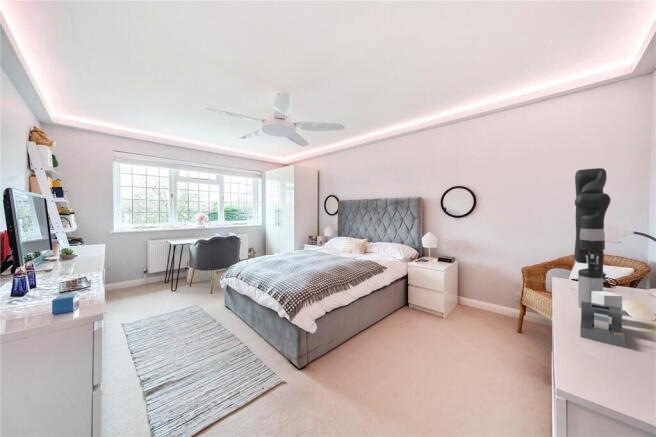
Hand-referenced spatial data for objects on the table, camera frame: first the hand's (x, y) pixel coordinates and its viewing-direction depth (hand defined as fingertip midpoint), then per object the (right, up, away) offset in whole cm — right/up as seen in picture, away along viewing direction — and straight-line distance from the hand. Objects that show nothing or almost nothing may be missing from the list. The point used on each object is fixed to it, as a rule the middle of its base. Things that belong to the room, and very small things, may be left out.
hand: (591, 274), depth 109 cm
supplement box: (+18, -24, +10) cm, 32 cm away
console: (+2, -25, -2) cm, 25 cm away
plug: (-2, -24, -6) cm, 25 cm away
